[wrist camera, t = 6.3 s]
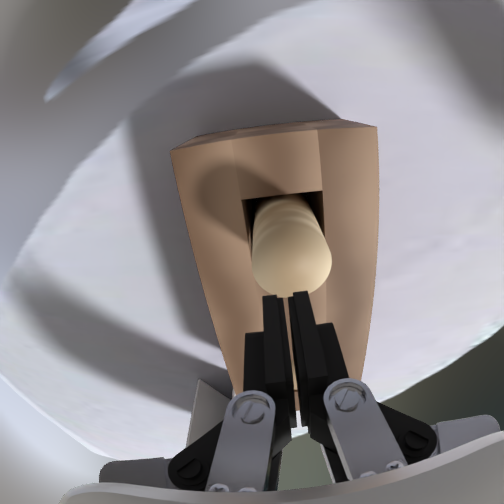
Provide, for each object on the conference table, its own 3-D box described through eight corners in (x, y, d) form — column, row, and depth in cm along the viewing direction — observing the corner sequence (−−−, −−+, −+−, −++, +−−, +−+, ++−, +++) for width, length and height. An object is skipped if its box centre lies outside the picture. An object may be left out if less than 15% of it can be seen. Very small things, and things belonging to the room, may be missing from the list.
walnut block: (341, 119, 22) (376, 127, 15) (342, 349, 34) (356, 401, 27) (197, 136, 23) (169, 150, 16) (245, 360, 35) (242, 414, 28)
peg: (307, 182, 20) (330, 223, 14) (311, 233, 22) (331, 293, 15) (250, 188, 21) (245, 233, 14) (258, 239, 23) (257, 301, 16)
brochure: (267, 422, 43) (266, 592, 16) (236, 426, 44) (225, 590, 17) (236, 373, 36) (218, 603, 10) (198, 379, 37) (164, 592, 11)
